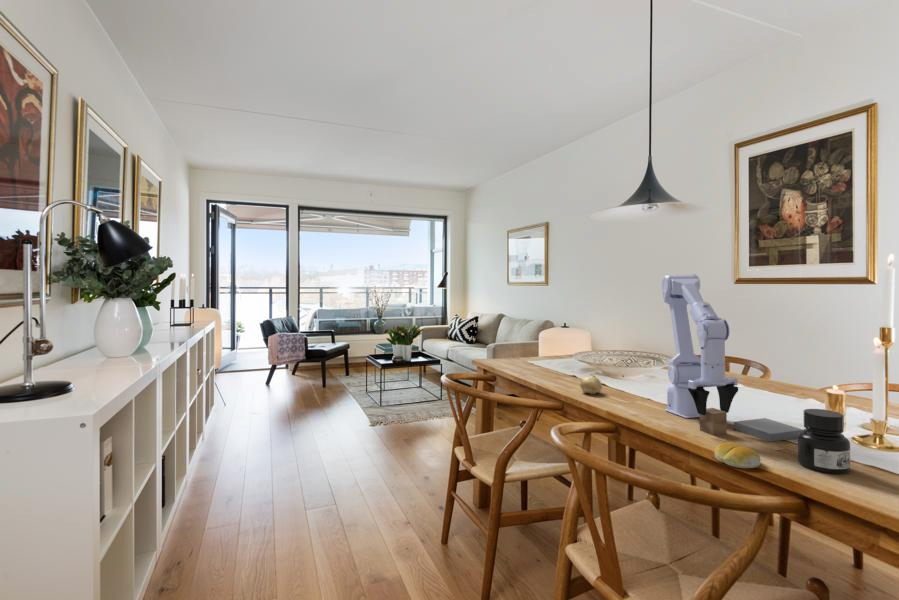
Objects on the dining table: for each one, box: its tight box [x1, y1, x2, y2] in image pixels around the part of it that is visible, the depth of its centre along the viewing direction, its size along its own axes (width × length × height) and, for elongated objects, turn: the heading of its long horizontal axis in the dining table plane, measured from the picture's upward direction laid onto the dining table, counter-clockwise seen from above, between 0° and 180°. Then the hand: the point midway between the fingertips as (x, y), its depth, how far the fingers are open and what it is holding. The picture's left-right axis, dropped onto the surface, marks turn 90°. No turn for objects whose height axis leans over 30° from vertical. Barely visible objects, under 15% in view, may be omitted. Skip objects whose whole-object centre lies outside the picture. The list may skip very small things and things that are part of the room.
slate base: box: [733, 417, 804, 443], centre depth 122 cm, size 11×11×2 cm
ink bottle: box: [797, 408, 851, 475], centre depth 99 cm, size 10×9×12 cm
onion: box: [579, 373, 603, 395], centre depth 170 cm, size 8×8×7 cm
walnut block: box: [699, 407, 728, 436], centre depth 124 cm, size 4×4×6 cm
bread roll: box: [714, 442, 762, 469], centre depth 104 cm, size 8×9×4 cm
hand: (713, 412), depth 123 cm, fingers open, 7 cm apart
